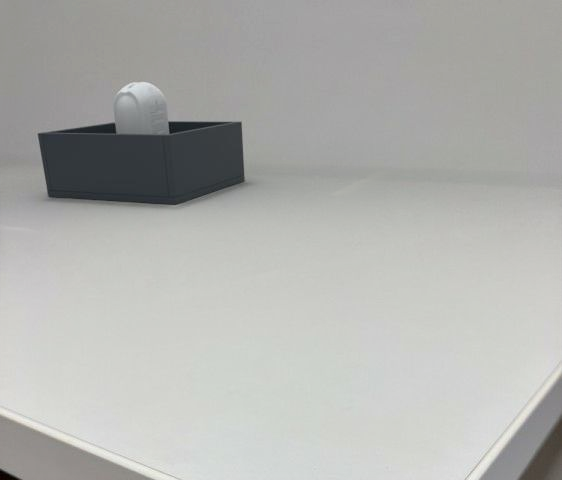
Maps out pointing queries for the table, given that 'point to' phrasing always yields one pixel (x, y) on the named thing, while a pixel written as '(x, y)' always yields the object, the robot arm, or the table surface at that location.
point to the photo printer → (140, 110)
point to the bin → (143, 162)
